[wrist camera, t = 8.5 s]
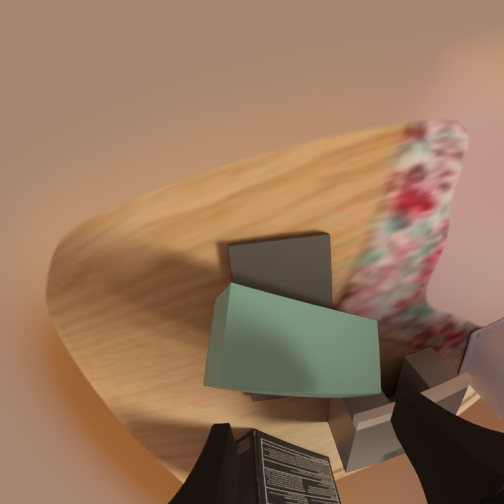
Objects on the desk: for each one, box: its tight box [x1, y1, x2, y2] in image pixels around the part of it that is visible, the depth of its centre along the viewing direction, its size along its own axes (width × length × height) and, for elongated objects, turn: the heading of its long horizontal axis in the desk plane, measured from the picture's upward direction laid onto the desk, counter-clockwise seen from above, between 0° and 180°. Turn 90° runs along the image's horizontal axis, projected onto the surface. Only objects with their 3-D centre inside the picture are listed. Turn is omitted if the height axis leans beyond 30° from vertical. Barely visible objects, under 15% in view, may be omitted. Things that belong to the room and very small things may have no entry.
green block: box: [203, 283, 381, 398], centre depth 15 cm, size 2×10×5 cm
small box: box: [235, 430, 341, 504], centre depth 17 cm, size 11×6×10 cm, turn 50°
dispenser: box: [328, 347, 473, 473], centre depth 17 cm, size 10×7×6 cm
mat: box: [228, 233, 332, 401], centre depth 18 cm, size 6×12×1 cm, turn 7°
